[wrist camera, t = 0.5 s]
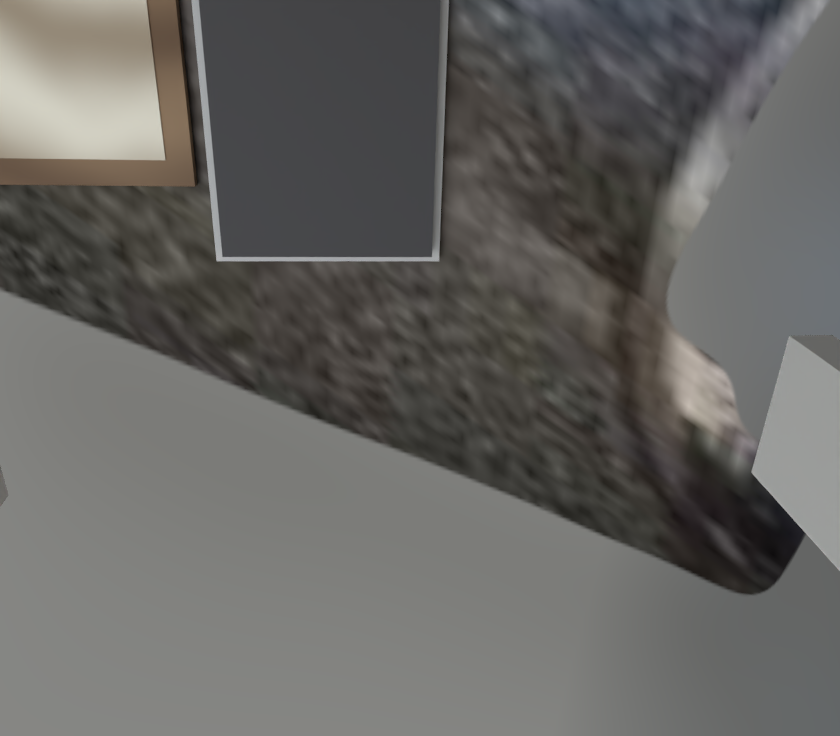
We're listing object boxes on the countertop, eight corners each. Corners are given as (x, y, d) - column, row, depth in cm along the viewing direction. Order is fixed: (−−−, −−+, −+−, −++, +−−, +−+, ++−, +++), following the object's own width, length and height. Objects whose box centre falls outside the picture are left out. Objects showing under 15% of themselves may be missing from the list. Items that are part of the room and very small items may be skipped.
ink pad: (190, -40, 31) (182, -44, 30) (448, -30, 33) (453, -33, 31) (218, 257, 37) (213, 266, 36) (437, 258, 38) (441, 266, 37)
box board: (-178, -204, 28) (-190, -209, 27) (159, -185, 29) (155, -190, 29) (-78, 181, 34) (-86, 184, 34) (197, 184, 35) (194, 186, 35)
